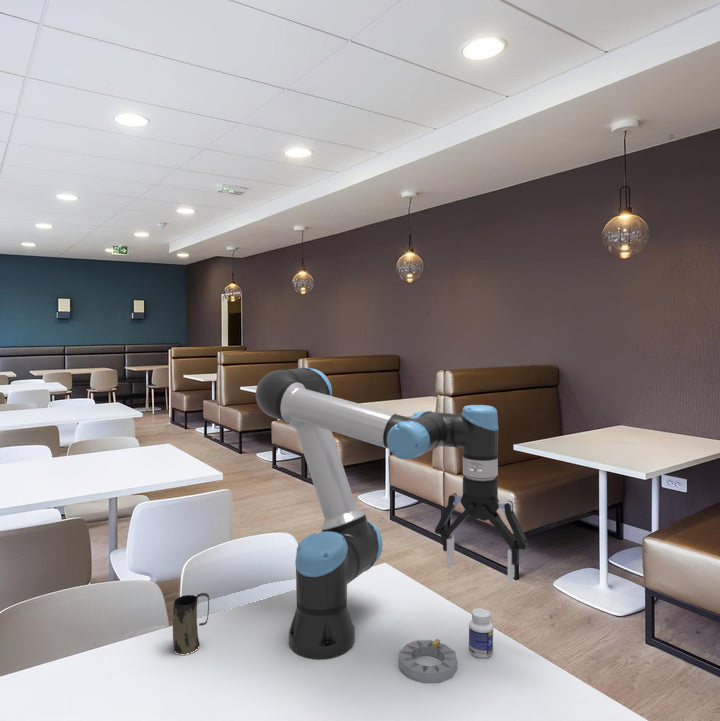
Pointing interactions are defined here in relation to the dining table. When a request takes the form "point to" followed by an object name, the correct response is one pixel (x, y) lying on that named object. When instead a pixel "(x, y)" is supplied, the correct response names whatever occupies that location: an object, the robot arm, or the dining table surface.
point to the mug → (186, 623)
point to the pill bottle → (481, 634)
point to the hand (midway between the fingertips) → (479, 572)
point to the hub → (428, 672)
